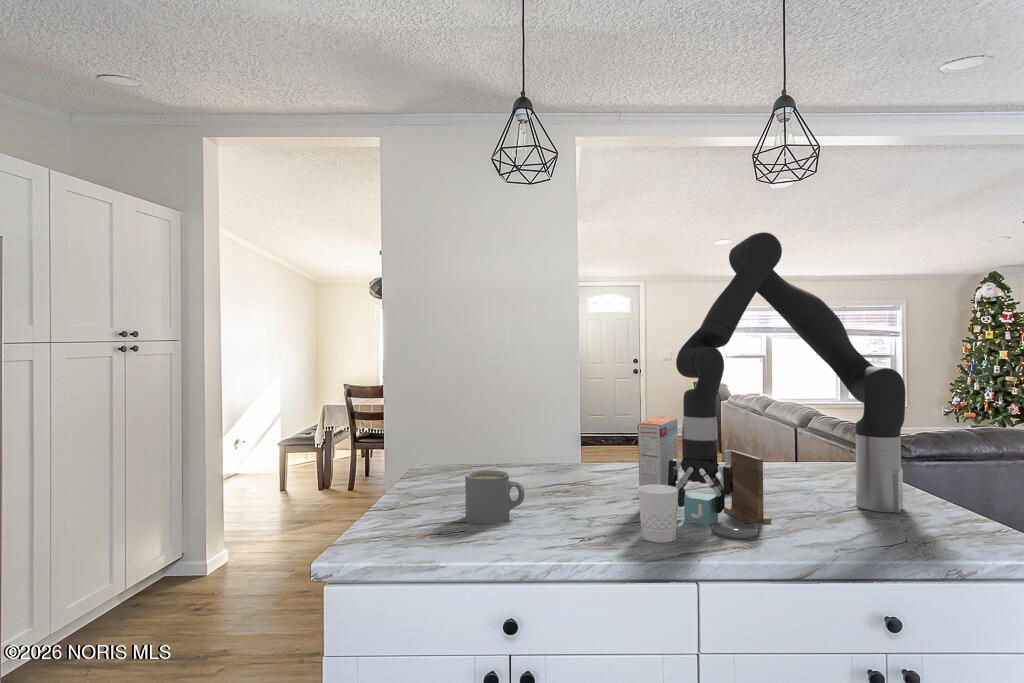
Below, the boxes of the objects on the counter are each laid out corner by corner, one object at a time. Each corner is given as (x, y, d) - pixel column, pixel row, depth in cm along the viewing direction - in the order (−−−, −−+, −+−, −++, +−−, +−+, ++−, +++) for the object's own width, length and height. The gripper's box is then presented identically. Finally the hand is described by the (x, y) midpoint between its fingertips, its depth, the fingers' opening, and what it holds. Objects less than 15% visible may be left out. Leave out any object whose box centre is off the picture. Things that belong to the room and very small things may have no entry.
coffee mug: (463, 524, 140) (462, 479, 140) (468, 512, 150) (467, 470, 150) (523, 524, 139) (523, 479, 139) (525, 512, 149) (524, 469, 149)
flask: (749, 490, 168) (748, 453, 168) (721, 491, 169) (721, 453, 169) (740, 484, 176) (739, 448, 176) (713, 484, 176) (713, 448, 176)
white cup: (650, 529, 135) (649, 482, 135) (685, 536, 130) (684, 487, 130) (632, 539, 129) (631, 489, 129) (668, 546, 124) (667, 495, 124)
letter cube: (718, 520, 142) (717, 495, 142) (708, 526, 137) (708, 500, 137) (694, 516, 145) (694, 492, 145) (684, 521, 141) (684, 497, 141)
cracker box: (656, 498, 161) (655, 416, 161) (680, 501, 158) (679, 417, 158) (637, 511, 149) (636, 422, 149) (662, 514, 146) (661, 423, 146)
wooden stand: (743, 509, 150) (743, 450, 150) (771, 522, 139) (770, 458, 139) (724, 511, 149) (723, 451, 149) (750, 524, 138) (749, 459, 138)
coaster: (763, 531, 133) (763, 526, 133) (749, 542, 126) (749, 537, 126) (721, 523, 138) (721, 519, 138) (705, 534, 131) (705, 529, 131)
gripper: (737, 437, 140) (737, 511, 140) (676, 431, 149) (677, 501, 149) (725, 441, 134) (725, 518, 134) (662, 435, 143) (662, 507, 143)
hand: (699, 509), depth 141 cm, fingers open, 8 cm apart
